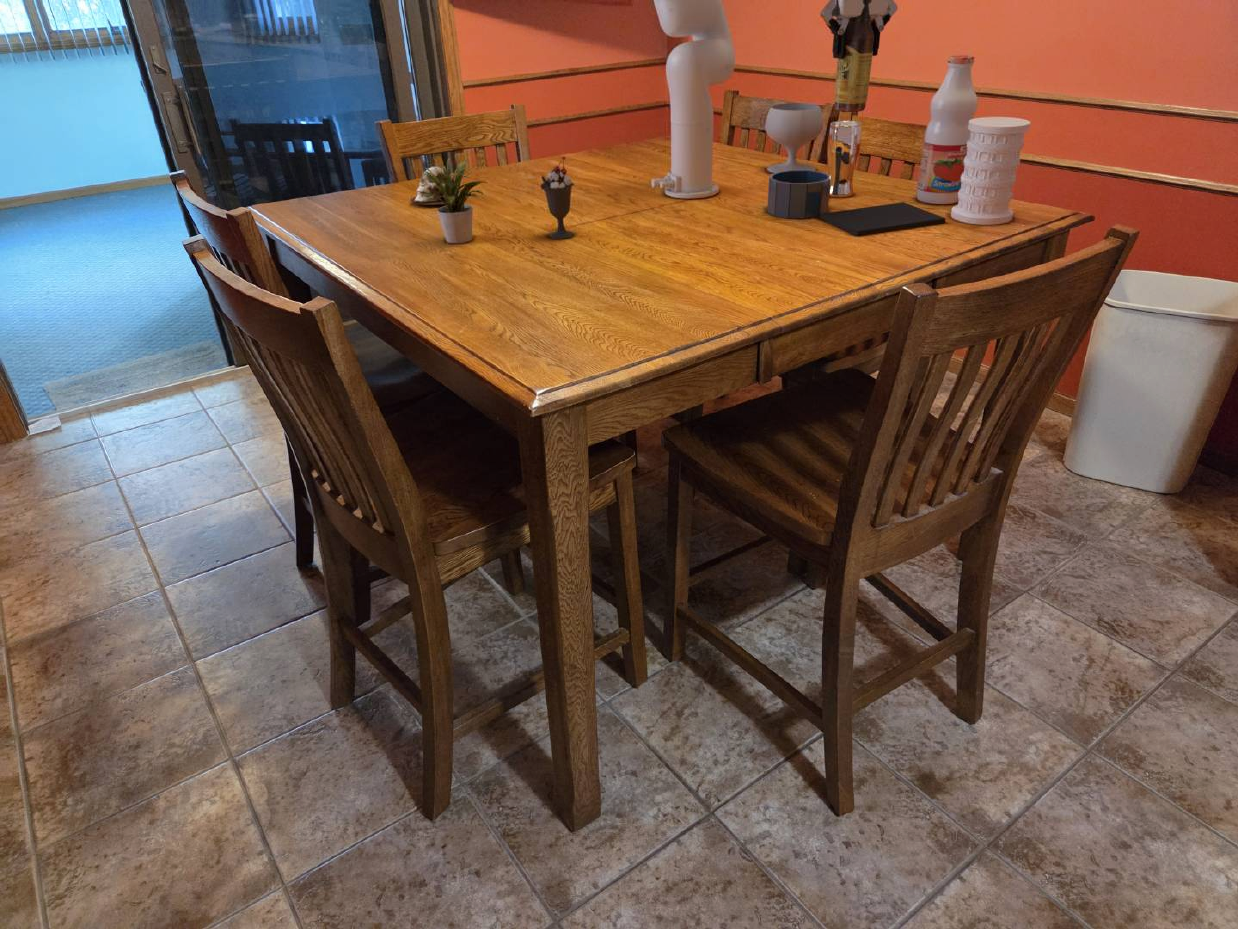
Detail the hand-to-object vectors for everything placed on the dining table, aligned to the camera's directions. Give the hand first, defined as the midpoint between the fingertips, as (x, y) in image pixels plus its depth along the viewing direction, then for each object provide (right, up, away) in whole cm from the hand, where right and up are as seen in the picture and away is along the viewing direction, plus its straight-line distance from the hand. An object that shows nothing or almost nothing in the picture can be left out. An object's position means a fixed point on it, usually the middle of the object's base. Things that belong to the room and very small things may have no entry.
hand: (855, 55), depth 154 cm
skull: (-88, -15, +40) cm, 98 cm away
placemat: (+9, -28, +11) cm, 31 cm away
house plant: (-78, -32, +12) cm, 85 cm away
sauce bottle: (0, -8, +5) cm, 10 cm away
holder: (-6, -23, +20) cm, 31 cm away
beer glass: (+5, -16, +31) cm, 35 cm away
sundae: (-56, -31, +12) cm, 65 cm away
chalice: (-1, -3, +52) cm, 52 cm away
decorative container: (+29, -27, +11) cm, 41 cm away
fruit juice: (+25, -20, +23) cm, 39 cm away
